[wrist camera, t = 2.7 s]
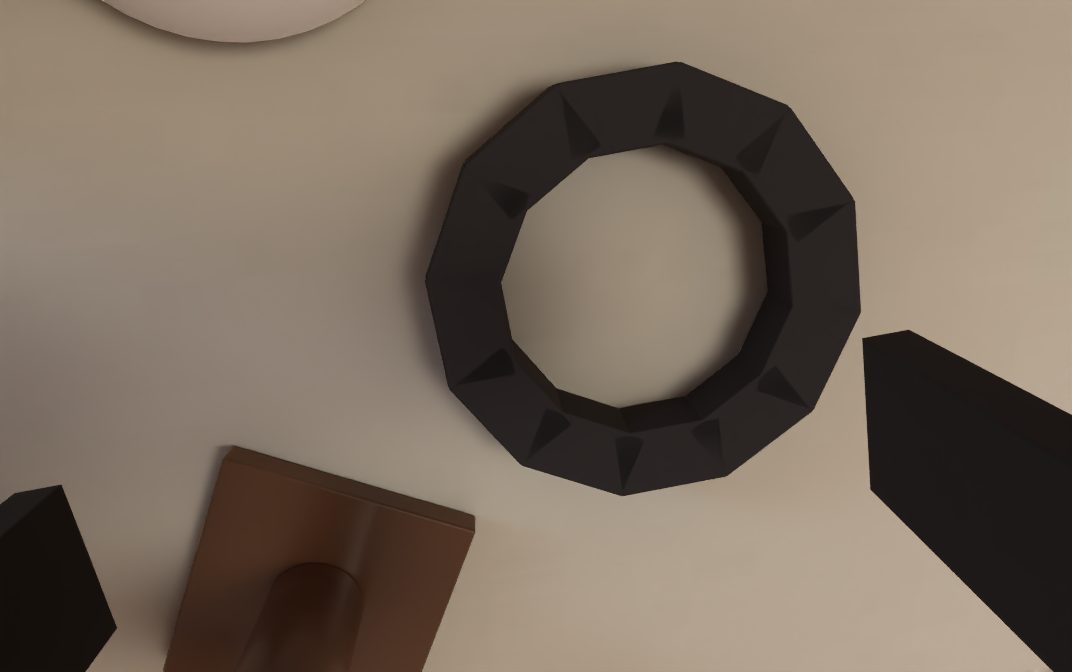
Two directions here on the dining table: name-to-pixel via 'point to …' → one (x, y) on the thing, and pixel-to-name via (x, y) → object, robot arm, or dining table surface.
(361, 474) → the dining table surface
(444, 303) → the ring
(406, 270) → the dining table surface
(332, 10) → the flower in vase
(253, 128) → the dining table surface
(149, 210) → the dining table surface
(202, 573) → the stand
